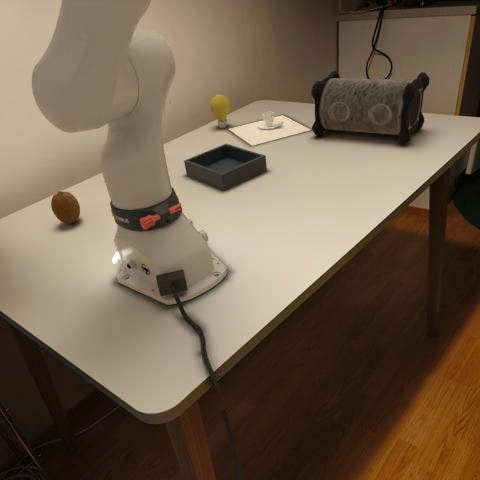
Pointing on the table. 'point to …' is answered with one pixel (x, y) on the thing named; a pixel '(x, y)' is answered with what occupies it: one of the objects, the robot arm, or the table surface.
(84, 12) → the robot arm
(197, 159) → the tub
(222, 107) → the light bulb
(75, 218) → the fruit
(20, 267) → the table surface
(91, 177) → the table surface
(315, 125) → the speaker
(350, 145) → the table surface
